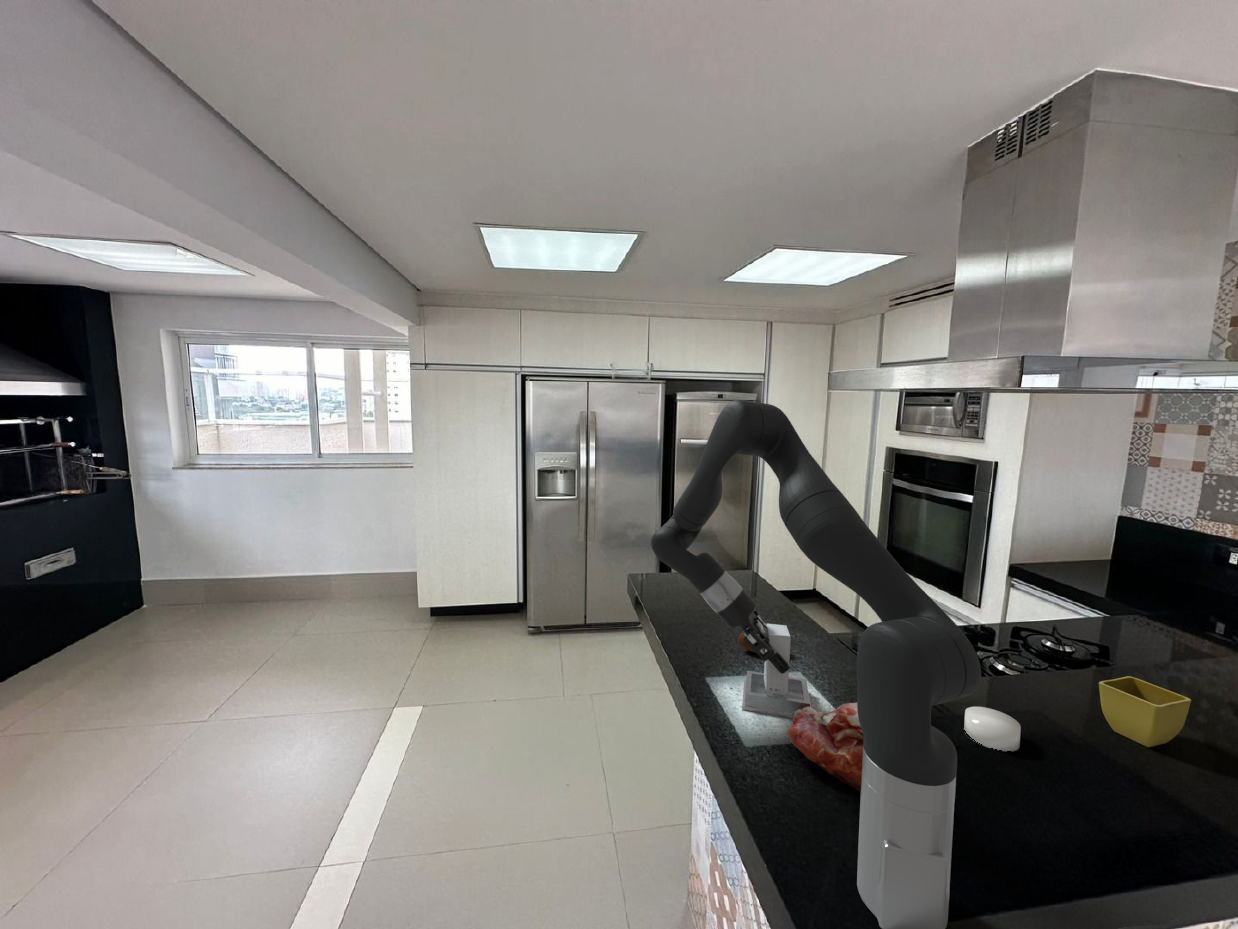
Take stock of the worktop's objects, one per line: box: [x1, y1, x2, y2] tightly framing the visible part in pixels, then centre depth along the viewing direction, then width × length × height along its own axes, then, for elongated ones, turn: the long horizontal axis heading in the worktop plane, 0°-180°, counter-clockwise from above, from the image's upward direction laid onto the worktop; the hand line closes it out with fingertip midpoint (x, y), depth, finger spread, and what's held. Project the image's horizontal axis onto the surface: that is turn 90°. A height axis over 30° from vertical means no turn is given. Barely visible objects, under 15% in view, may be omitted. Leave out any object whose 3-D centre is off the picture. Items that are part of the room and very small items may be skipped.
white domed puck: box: [963, 706, 1022, 752], centre depth 89 cm, size 8×8×4 cm
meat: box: [787, 701, 863, 793], centre depth 84 cm, size 21×21×10 cm
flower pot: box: [1098, 675, 1192, 748], centre depth 89 cm, size 9×9×9 cm
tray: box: [741, 670, 812, 719], centre depth 101 cm, size 11×13×3 cm
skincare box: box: [763, 623, 792, 695], centre depth 100 cm, size 6×4×12 cm
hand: (785, 662), depth 100 cm, fingers closed on skincare box, 6 cm apart
